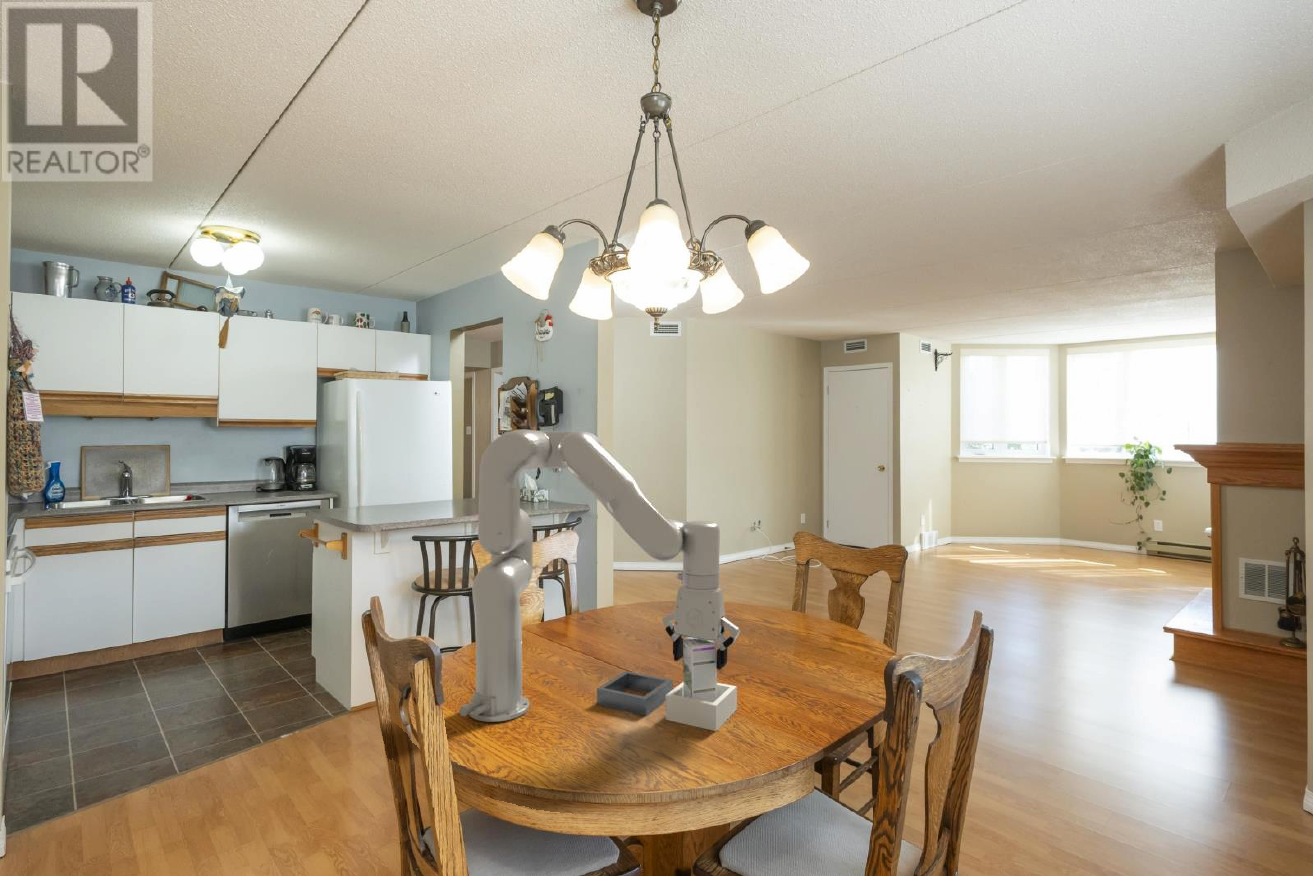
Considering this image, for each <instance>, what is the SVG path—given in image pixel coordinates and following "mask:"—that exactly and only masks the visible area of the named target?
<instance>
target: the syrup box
mask: <svg viewBox="0 0 1313 876" xmlns="http://www.w3.org/2000/svg"><path fill="white" fill-rule="evenodd" d="M682 638H683V637H682ZM716 662H717V644H716V642H715V641H714V640H712V641H710V640H703V639H697V638H692V637H685V638H683V657H682V665H683V668H682V669H683V670H682V671H683V681H682V682H683V683H684V697H688V698H693V699H698V700H703V701H708V702H714V701H716V700H717V683H718V674H717V672H718V671H717V670H718V669H717V668H716Z"/></svg>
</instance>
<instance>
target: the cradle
mask: <svg viewBox="0 0 1313 876" xmlns="http://www.w3.org/2000/svg"><path fill="white" fill-rule="evenodd" d="M736 710H737V711H738V686H736V685H731V684H727V683H720V682H717V700H716V701H714V702H708V701H703V700H698V699H693V698H688V697H684V683H683V681H682V682H681V683H680V684H679V685H677V686H675V687H673V690H672V691H670V692H669V693H668V694H666V701H665V720H666V721H671V722H674V723H679V724H684V725H687V726H693V727H696V728H700V729H706V730H710V731H713V732H717V731H719V729H720V728H721V727H722V726H723V725H724V724H725V723H726V722H727V721H728V720H729V719H730V718H731V717H732V716H733V715H734V714H735V713H736V712H737V711H736ZM735 711H736V712H735ZM734 712H735V713H734ZM732 714H733V715H732ZM730 716H731V717H730ZM727 719H728V720H727Z"/></svg>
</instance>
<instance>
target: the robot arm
mask: <svg viewBox="0 0 1313 876" xmlns="http://www.w3.org/2000/svg"><path fill="white" fill-rule="evenodd" d="M602 445H603V444H602V442H601V440H600V439H599V437H598V436H596V435H595V434H593V433H591V432H589V431H586V430H585V431H584V430H576V431H575V430H574V431H556V430H553V431H552V430H534V429H533V430H532V429H523V428H522V429H514V430H511V431H508V432H505V433H504V434H501V435H500V436H498V437H496V438H495V439H494V440H493V441H492V442H490V443H489V444H488V446H487V447H486V448H485V450H484V452H483V454H482V456H481V460H480V464H479V474H478V475H479V476H478V478H479V479H478V481H479V486H478V487H479V488H478V491H479V492H478V494H479V495H478V517H477V518H478V522H477V523H478V524H477V525H478V526H477V527H478V528H477V536H478V542H479V545H480V547H481V548H482V550H483V551H484V552H486V553H487V554H490V560H491V561H489V562H488V563H487V564H485V565H484V566H483V567H482V568H480V569H479V571H478V572H477V574H476V575H475V577H474V579H473V582H472V588H471V589H472V590H471V591H472V592H471V593H472V602H473V608H474V609H473V610H474V616H475V692H474V693H472V699H471V700H470V701H469V703H466V704H464V705H462V706H460V707H459V709H458V710H459V714H460V716H461V717H465V716H467V715H469V716H470V717H471V719H473V720H476V721H479V722H487V723H498V722H505V721H510V720H514V719H516V718H518V717H521V716H523V715H525V714H526V713H527V712H528V711H529V709H530V700H529V699H528V698H527V697H526V696H525V695H524V694H523V634H522V633H523V632H522V630H523V628H522V626H523V625H522V624H523V623H522V611H521V606H520V595H522V593H524V592H525V591H526V589H527V588H528V587H529V585H530V584H531V581H532V577H533V549H534V548H533V546H534V545H533V544H534V543H533V542H534V541H533V540H534V536H533V535H534V534H533V532H534V531H533V523H532V521H531V517H530V516H529V515H528V513H527V512H526V511H525V510H524V509H522V508H521V506H520V504H521V502H520V501H521V500H520V499H521V487H520V479H519V478H520V474H521V472H522V471H525V470H531V469H561V470H562V469H564V470H567V471H568V472H569V473H570V474H571V475H572V476H573V477H575V478H576V479H577V481H579V482H580V484H581V485H583V487H584V488H585V489H587V490H588V492H590V493H591V494H592V495H593V496H594V498H595V499H596V500H597V501H599V502H600V504H601V505H602V506H603V507H604V508H605V510H606V511H607V512H608V514H609V515H610V516H611V517H612V518H613V519H614V520H615V521H616V522H617V524H618V525H619V526H620V527H621V528H622V529H623V530H624V532H625V533H626V535H628V536H629V538H630V539H632V540H633V541H634V542H635V543H636V544H637V545H638V546H639V547H640V548H641V549H642V550H643V551H644V552H645V553H646V554H647V555H649V556H650V557H651V558H653V559H654V560H657V561H660V562H668V561H671V560H673V559H675V558H676V557H677V556H678V555H679V553H682V555H683V556H682V561H683V562H682V572H678V573H677V577H676V578H677V580H681V584H682V585H679V586H678V589H677V594H676V599H675V605H674V612H673V613H670V614H668V615H665V616H663V617H662V618H661V621H662V623H663V625H664V627H665V631H666V633H667V635H668V636H669V637H670V641H672V655H673V660H674V661H675V662H677V661H679V660H681V659H683V637H685V638H689V637H692V638H697V639H703V640H710V641H713V642H714V643H715V644H716V646H717V647H718V648H717V649H716V668H717V670H720V671H721V669H723V668H724V667H725V666H726V665H727V663H728V648H730V646H731V645H732V644H733V643H735V641H736V640H737V638H738V636H739V634H740V633H741V629H740V627H738V626H737V625H735V624H734V623H732V622H731V621H729V620H728V619H727V618H726V610H725V608H726V607H725V601H724V596H723V590H722V587H721V588H720V586H719V585H720V539H721V538H720V537H721V535H720V534H721V532H720V526H719V525H718V524H717V523H716V522H713V521H707V520H692V521H685V520H679V519H673V518H665V517H664V516H662V515H661V513H660V512H659V511H658V510H657V509H656V508H654V506H653V505H652V504H651V503H650V502H649V501H648V500H647V498H646V496H644V494H643V493H642V491H641V490H640V488H639V485H638V484H637V482H636V480H635V479H634V477H633V476H632V475H631V474H630V473H629V472H628V471H627V470H626V469H625V468H624V467H623V466H622V465H621V464H620V463H619V462H618V461H617V460H616V459H615V458H614V457H613V456H612V455H611V454H610V453H609V452H608V451H607V450H606V449H605V448H604V447H603V446H602ZM672 621H673V623H672ZM726 631H728V632H730V634H729V636H728V638H727V637H726V635H725V633H726Z"/></svg>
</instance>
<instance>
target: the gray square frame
mask: <svg viewBox="0 0 1313 876" xmlns="http://www.w3.org/2000/svg"><path fill="white" fill-rule="evenodd" d="M673 683H674V680H673V679H670V678H663V677H659V676H656V675H655V676H654V675H648V674H644V673H639V672H634V671H629V670H625V671H624V672H622V673H620V674H619V675H616V676H615V677H614V678H612V679H610V680H609V681H607V682H605V683H604V684H602V685H600V686H599V687H597V688H596V706H600V707H603V706H604V708H609V709H612V710H617V711H622V712H626V713H630V714H635V715H638V714H640V716H642V717H647V716H649V715H650V714H652V712H654V711H655V710H656V709H657V708H659V707H660V706H662V705H663V704H664V703H665V702H666V694H668V693H669V692H670V691H672V690H673V689H674V684H673ZM627 689H629V690H633V691H634V690H635V691H639V692H643V691H645V692H644V693H647V692H649V693H647V694H645V696H644V695H638V694H633V693H631V692H630V693H628V692H625V691H626V690H627ZM664 701H665V702H664ZM659 705H660V706H659ZM653 710H654V711H653Z"/></svg>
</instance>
